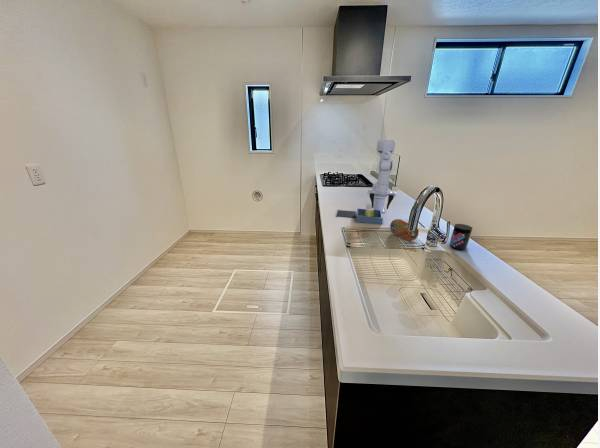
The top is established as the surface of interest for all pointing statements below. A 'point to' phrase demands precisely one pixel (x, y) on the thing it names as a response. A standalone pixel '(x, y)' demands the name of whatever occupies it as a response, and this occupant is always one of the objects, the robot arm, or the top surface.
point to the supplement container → (460, 237)
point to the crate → (369, 219)
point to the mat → (346, 213)
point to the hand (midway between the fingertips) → (379, 207)
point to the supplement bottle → (369, 210)
